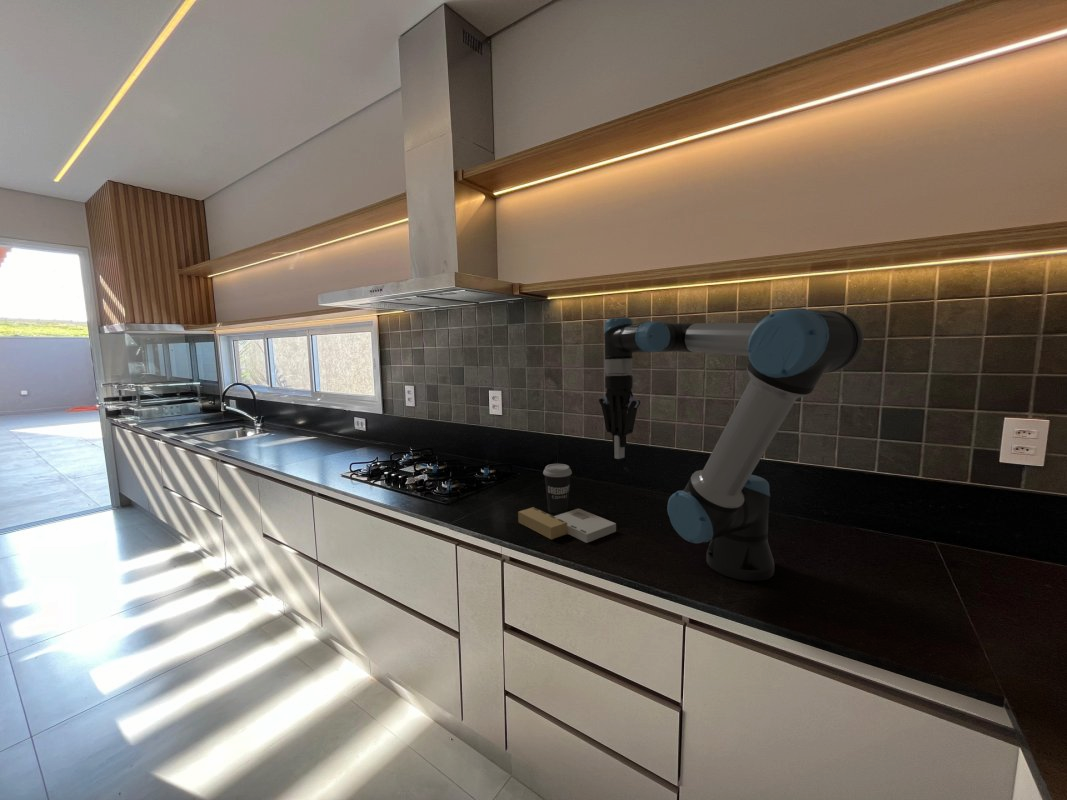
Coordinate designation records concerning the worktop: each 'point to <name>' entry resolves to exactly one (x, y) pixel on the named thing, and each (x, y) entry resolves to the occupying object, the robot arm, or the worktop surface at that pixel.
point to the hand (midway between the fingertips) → (619, 457)
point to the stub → (542, 523)
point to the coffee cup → (557, 487)
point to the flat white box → (586, 525)
